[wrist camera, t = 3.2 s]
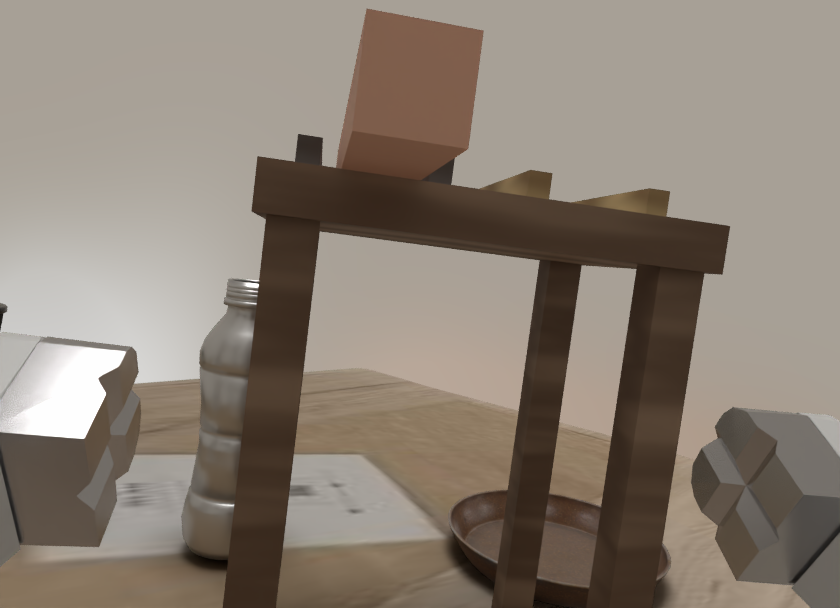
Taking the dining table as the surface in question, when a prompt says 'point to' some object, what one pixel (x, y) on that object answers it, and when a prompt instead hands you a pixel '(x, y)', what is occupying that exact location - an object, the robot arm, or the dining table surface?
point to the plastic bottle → (220, 424)
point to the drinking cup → (3, 308)
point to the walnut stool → (545, 362)
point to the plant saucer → (560, 551)
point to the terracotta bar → (409, 96)
